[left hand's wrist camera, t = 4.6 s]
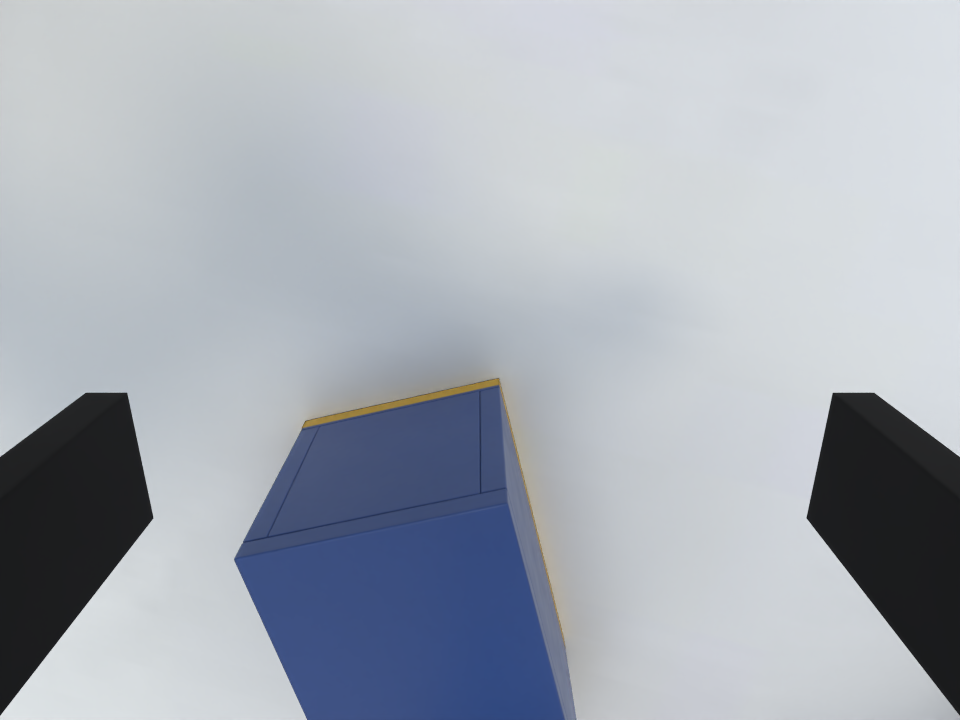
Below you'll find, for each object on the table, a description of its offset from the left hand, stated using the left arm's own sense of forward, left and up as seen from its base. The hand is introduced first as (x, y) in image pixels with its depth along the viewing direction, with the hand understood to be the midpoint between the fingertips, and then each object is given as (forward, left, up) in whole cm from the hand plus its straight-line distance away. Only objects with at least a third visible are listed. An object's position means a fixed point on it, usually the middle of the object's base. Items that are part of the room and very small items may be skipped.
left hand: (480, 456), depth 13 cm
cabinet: (-7, -17, -22) cm, 29 cm away
